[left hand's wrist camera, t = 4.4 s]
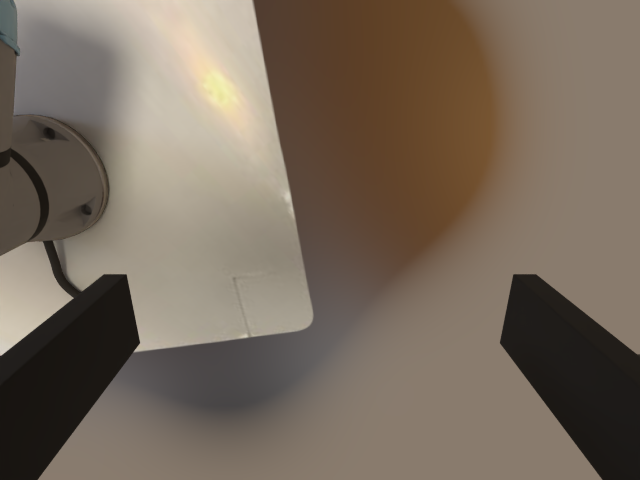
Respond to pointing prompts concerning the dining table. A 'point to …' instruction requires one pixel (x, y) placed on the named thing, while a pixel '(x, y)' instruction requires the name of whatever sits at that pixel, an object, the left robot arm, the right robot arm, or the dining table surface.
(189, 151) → the dining table surface
